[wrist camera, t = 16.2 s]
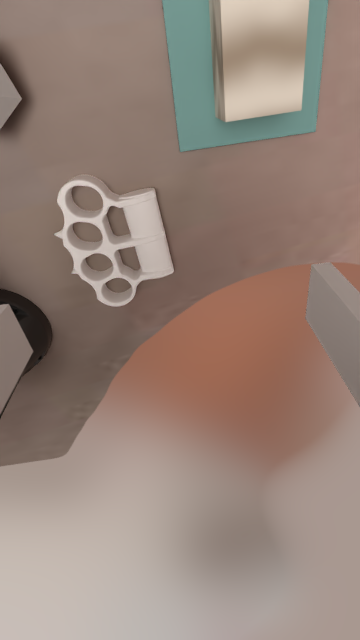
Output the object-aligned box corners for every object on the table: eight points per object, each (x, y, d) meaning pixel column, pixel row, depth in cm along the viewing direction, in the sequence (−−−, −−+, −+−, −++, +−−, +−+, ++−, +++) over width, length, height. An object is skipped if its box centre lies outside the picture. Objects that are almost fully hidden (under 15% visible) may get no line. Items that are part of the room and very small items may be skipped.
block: (208, -5, 31) (219, -32, 24) (281, -18, 31) (312, -49, 24) (215, 117, 37) (225, 122, 30) (277, 107, 36) (301, 110, 30)
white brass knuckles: (178, 284, 50) (88, 301, 51) (148, 158, 40) (36, 184, 41) (178, 295, 47) (83, 313, 49) (146, 163, 37) (27, 191, 38)
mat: (179, 151, 39) (180, 151, 39) (157, -41, 30) (157, -43, 29) (313, 131, 38) (315, 131, 38) (332, -72, 29) (335, -75, 29)
